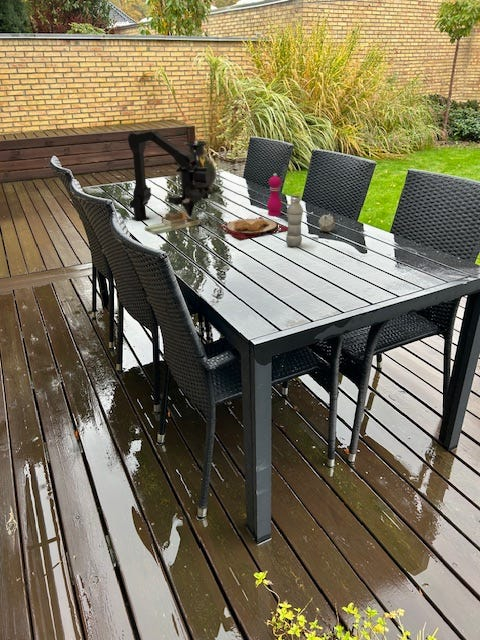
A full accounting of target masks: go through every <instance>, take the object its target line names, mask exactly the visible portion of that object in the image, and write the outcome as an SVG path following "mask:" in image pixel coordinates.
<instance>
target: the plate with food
mask: <svg viewBox="0 0 480 640" xmlns="http://www.w3.org/2000/svg"><path fill="white" fill-rule="evenodd" d="M278 225H279V228H281V229H277V228H278ZM218 228H219V229H223V230H224V229H225V230H226V231H225V230H224V233H225V234H226V235H231V237H233V238H236V239H238V240H242V239H244V240H245V239H248V238H249V239H252V238H253V239H254V238H255V237H258V236H265V235H266V234H264V232H267V231H270V233H269V235H272V234H271V233H273V234H276V233H275V232H277V231H280V232H284V231H288V226H284V225H282V224H281V225H280V224H279V223H278V222H276V221H274V220H272V219H267V218H264V217H262V216H259V217H256V218H243V219H242V218H239V219H236V220H233V221H228V222H227V223H226V225H221V226H218ZM276 229H277V230H276ZM275 230H276V231H275ZM274 231H275V232H274Z"/></svg>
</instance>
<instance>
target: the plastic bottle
mask: <svg viewBox="0 0 480 640" xmlns="http://www.w3.org/2000/svg"><path fill="white" fill-rule="evenodd" d="M286 213H287V214H286V215H287V216H286V217H287V227H288V230H286V231H287V232H286V238H285V243H286V245H288V247H293V246H294V247H299V246H300V245H301V244H302V240H303V238H302V221H303V214H304V209H303V206H302V204H301V196H299V195H291V197H290V204H289V205H288V207H287V209H286Z"/></svg>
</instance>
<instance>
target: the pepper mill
mask: <svg viewBox="0 0 480 640" xmlns="http://www.w3.org/2000/svg"><path fill="white" fill-rule="evenodd" d="M268 185H269V191H270V196H269V199H268V201H267V203H266V204H267V209H268V211H267V215H268V216H269V217H270V216H271V217H278V216H279V217H280V216H281V213H282V211H281V209H282V207H283V203H282V200H281V198H280V191H281V187H280V186H281V185H282V180H281V178H280V177H279V176H278V174H277V173H273V176H272V177H270V178H269V179H268Z"/></svg>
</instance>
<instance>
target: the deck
mask: <svg viewBox="0 0 480 640" xmlns="http://www.w3.org/2000/svg"><path fill="white" fill-rule="evenodd" d="M163 219H166V216H164V217H161V223H156V224H151V225H146V226H144V230H145V231H146V232H149V233H151V234H154V235H159V234H160V235H161V234H163V233H169V232H172V231H173V232H174V231H176V230H181V229H184V228H189V227H193V226H198V225H200V223H201V222H200V220H198V219H194V218H192V217H191V216H188V217H187V216H186V220H187V222H186V223H185V219H179V220H175V221H171V226H169V225H167V224H165V223H163Z"/></svg>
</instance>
